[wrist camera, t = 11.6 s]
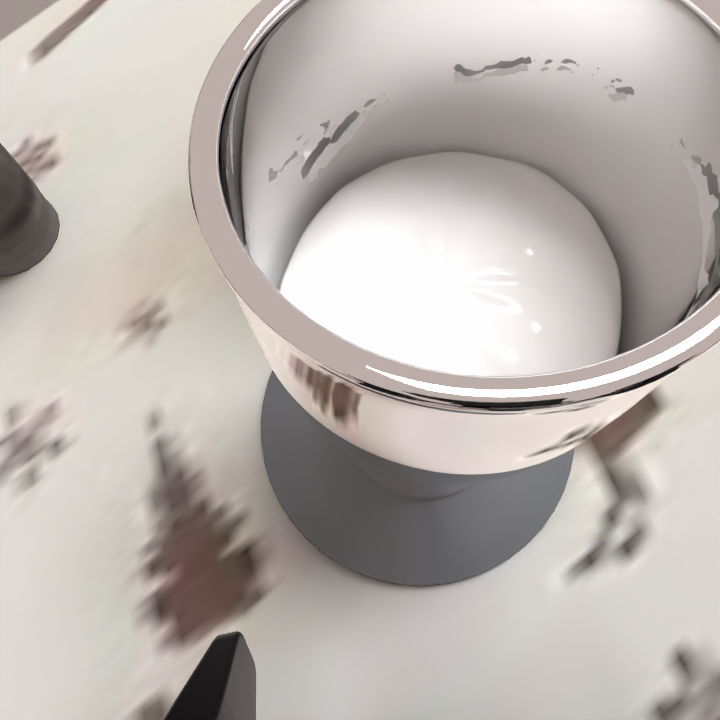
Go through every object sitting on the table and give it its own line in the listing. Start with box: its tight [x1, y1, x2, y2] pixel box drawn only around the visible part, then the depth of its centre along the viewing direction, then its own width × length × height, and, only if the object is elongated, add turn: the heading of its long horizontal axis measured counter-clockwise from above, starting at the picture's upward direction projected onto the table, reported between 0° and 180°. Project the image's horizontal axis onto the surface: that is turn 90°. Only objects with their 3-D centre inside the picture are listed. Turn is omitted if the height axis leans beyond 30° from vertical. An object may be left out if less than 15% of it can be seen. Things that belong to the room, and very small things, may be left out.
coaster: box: [261, 371, 574, 586], centre depth 20 cm, size 12×12×1 cm
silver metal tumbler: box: [188, 0, 720, 499], centre depth 13 cm, size 7×7×15 cm
